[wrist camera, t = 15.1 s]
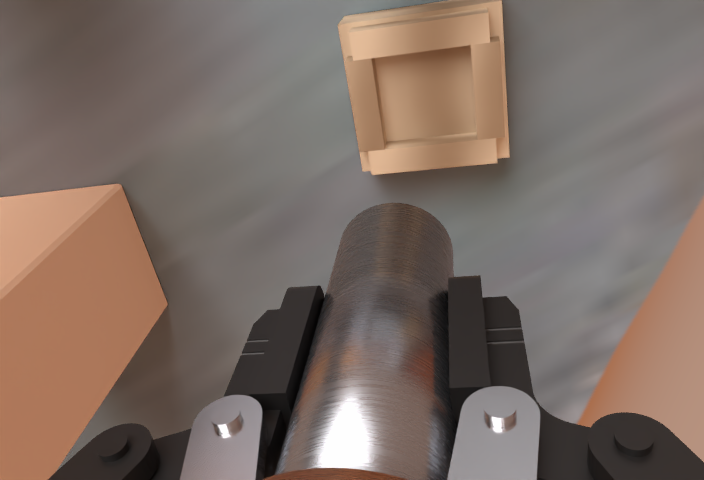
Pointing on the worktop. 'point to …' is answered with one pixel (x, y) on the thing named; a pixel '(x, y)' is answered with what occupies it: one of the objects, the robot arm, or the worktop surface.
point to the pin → (378, 358)
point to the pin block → (427, 85)
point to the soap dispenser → (66, 317)
